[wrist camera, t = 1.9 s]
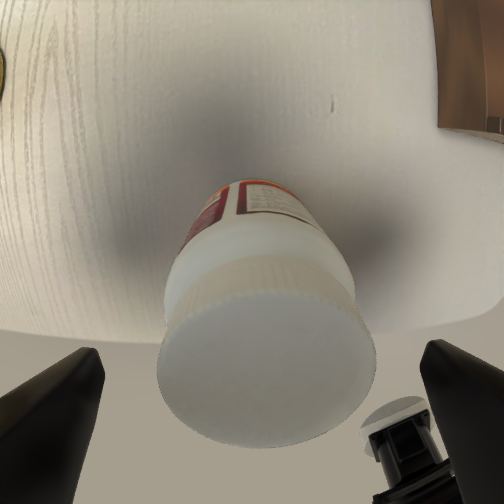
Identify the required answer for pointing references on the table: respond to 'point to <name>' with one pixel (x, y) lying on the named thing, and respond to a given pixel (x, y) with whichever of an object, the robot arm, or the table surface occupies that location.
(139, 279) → the table surface
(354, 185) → the table surface
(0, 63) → the brass calibration weight
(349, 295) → the pill bottle
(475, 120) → the step shelf
